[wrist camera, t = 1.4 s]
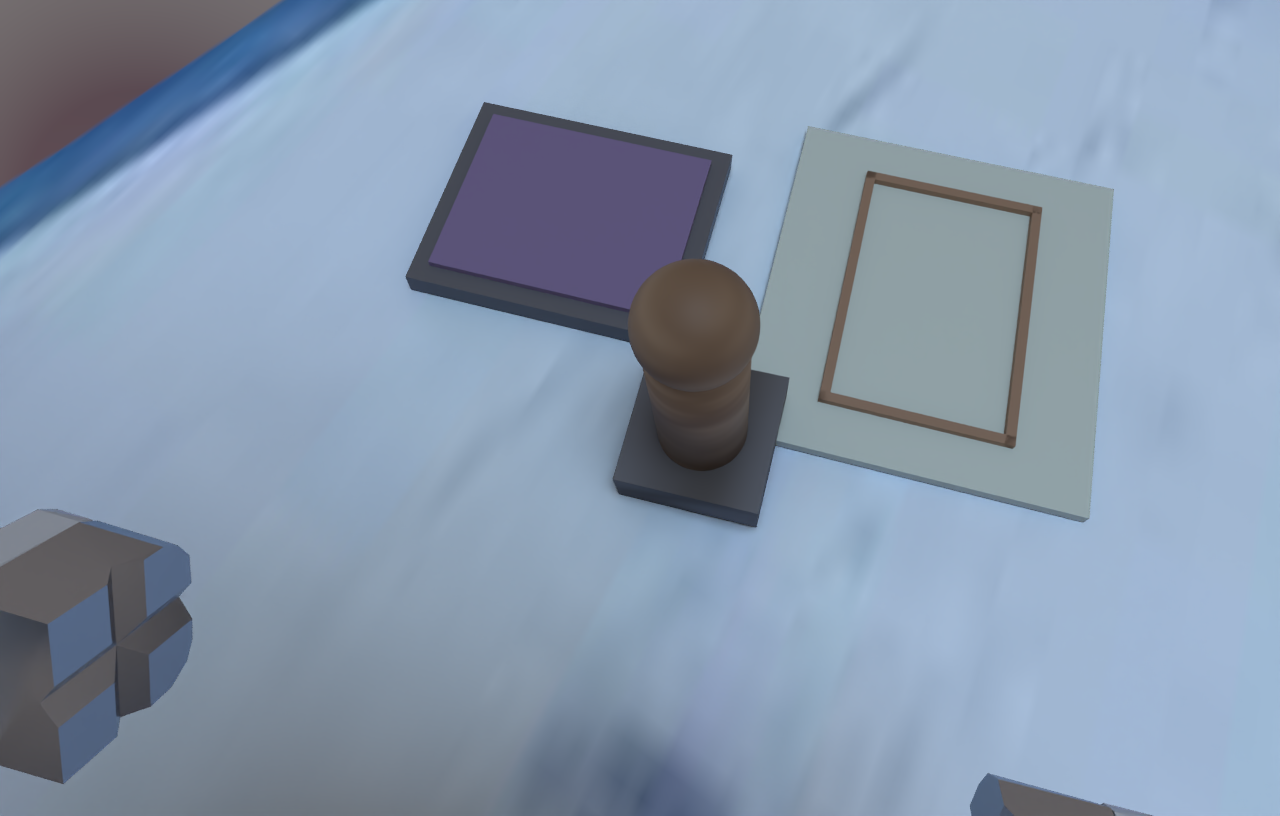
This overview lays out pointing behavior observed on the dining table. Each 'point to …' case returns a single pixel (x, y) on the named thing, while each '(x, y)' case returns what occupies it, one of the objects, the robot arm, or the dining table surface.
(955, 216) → the print card
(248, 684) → the dining table surface
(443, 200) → the ink pad
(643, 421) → the stamp
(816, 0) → the dining table surface
